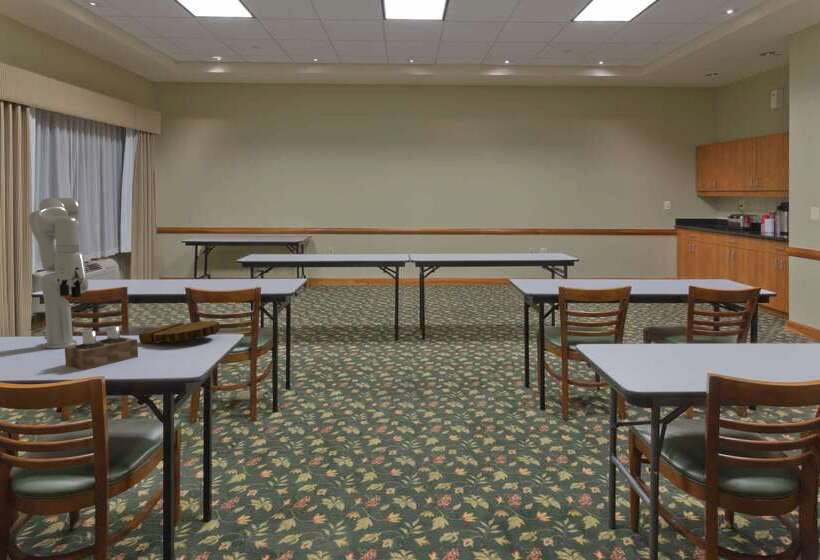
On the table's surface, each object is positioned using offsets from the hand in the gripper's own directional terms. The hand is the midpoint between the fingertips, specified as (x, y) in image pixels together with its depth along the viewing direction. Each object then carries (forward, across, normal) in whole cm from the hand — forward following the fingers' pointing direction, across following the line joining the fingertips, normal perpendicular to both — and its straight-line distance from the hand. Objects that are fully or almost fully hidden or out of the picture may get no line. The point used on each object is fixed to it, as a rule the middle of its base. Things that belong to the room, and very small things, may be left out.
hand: (70, 295), depth 224 cm
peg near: (+21, +10, 0) cm, 23 cm away
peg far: (+21, +10, +10) cm, 25 cm away
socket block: (+26, +10, +5) cm, 28 cm away
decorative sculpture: (+26, +8, +47) cm, 54 cm away
